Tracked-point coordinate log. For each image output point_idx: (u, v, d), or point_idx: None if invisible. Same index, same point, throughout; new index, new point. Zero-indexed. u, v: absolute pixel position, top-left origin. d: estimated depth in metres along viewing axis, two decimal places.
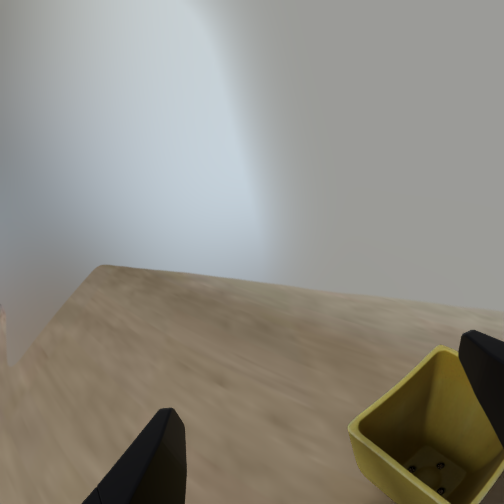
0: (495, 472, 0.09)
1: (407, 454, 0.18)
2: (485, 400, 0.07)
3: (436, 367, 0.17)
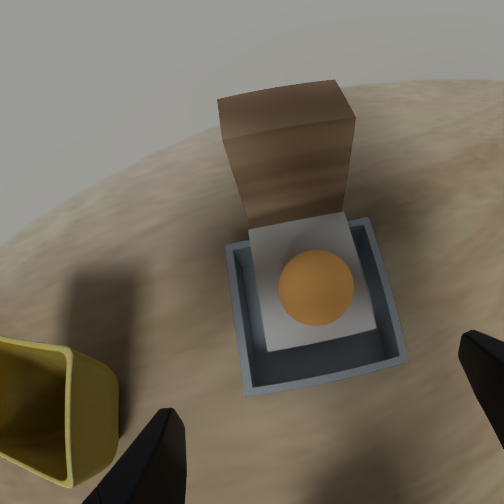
0: (66, 443, 0.13)
1: (64, 399, 0.22)
2: (485, 400, 0.07)
3: (4, 350, 0.17)
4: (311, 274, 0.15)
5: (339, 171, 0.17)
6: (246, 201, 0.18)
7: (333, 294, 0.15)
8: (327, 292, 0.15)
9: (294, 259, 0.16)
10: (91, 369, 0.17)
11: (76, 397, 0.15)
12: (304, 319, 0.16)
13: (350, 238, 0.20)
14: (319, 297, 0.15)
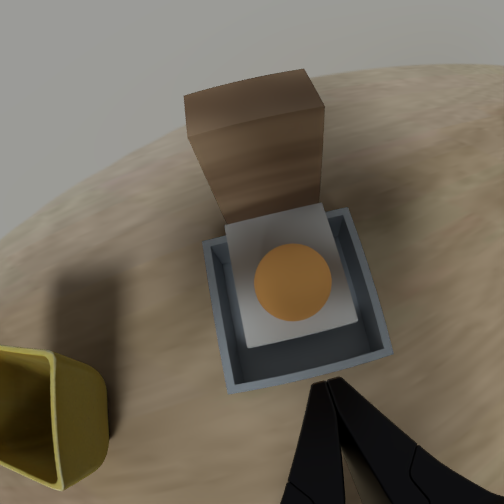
0: (54, 447, 0.13)
1: None
2: (346, 456, 0.07)
3: None
4: (285, 269, 0.15)
5: (312, 162, 0.16)
6: (219, 196, 0.18)
7: (309, 289, 0.15)
8: (302, 287, 0.15)
9: (268, 254, 0.16)
10: (75, 372, 0.17)
11: (61, 400, 0.14)
12: (281, 315, 0.15)
13: (328, 229, 0.20)
14: (294, 292, 0.15)
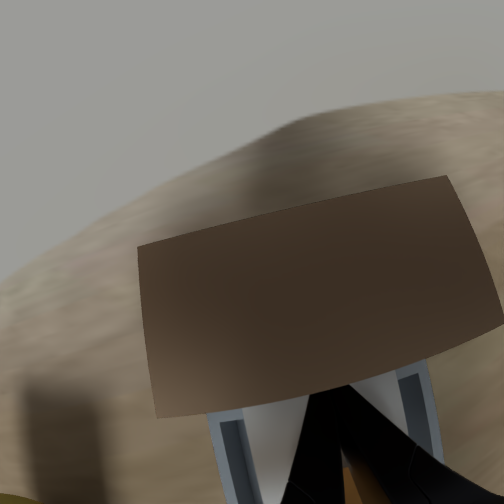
0: None
1: None
2: (346, 456, 0.07)
3: None
4: None
5: None
6: None
7: None
8: None
9: None
10: None
11: None
12: None
13: (399, 402, 0.11)
14: None
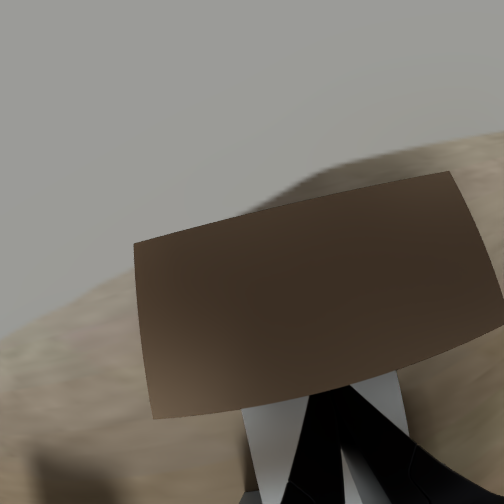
0: None
1: None
2: (346, 456, 0.07)
3: None
4: None
5: None
6: None
7: None
8: None
9: None
10: None
11: None
12: None
13: (399, 402, 0.11)
14: None
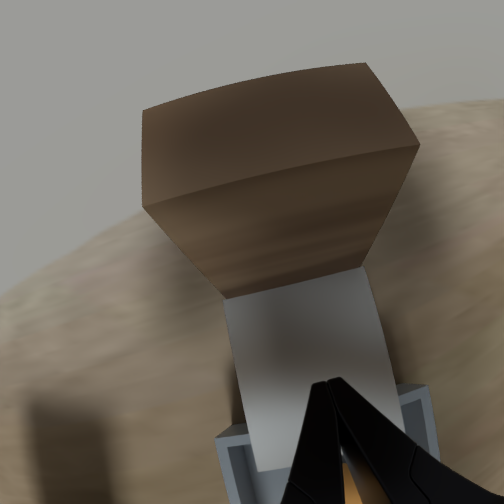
0: None
1: None
2: (346, 456, 0.07)
3: None
4: None
5: (369, 226, 0.10)
6: (214, 276, 0.11)
7: None
8: None
9: None
10: None
11: None
12: None
13: (373, 309, 0.13)
14: None
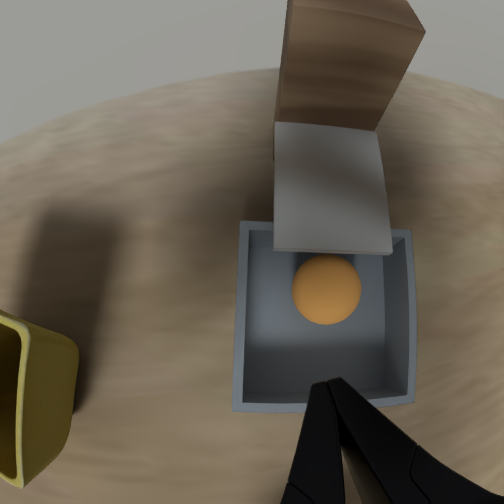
0: (16, 441, 0.10)
1: (16, 358, 0.18)
2: (346, 456, 0.07)
3: None
4: None
5: (390, 83, 0.14)
6: (288, 84, 0.15)
7: None
8: None
9: (313, 317, 0.17)
10: (51, 350, 0.13)
11: (30, 387, 0.11)
12: None
13: (379, 158, 0.18)
14: None
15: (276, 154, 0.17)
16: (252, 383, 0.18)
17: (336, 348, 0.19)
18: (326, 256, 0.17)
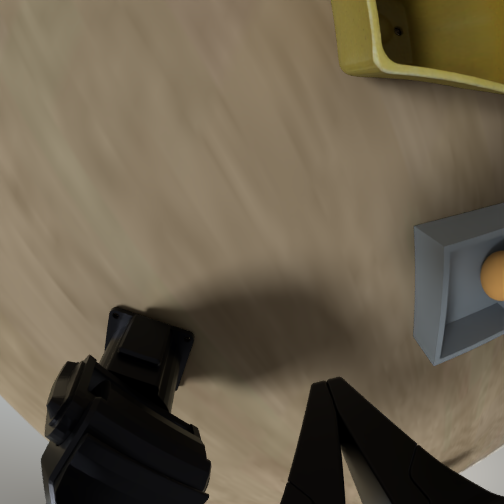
0: (442, 71, 0.09)
1: None
2: (346, 455, 0.07)
3: None
4: (486, 279, 0.20)
5: None
6: None
7: None
8: (480, 279, 0.21)
9: (502, 277, 0.18)
10: (487, 91, 0.11)
11: (483, 88, 0.10)
12: (487, 258, 0.21)
13: None
14: (480, 274, 0.21)
15: None
16: None
17: (450, 291, 0.22)
18: None
